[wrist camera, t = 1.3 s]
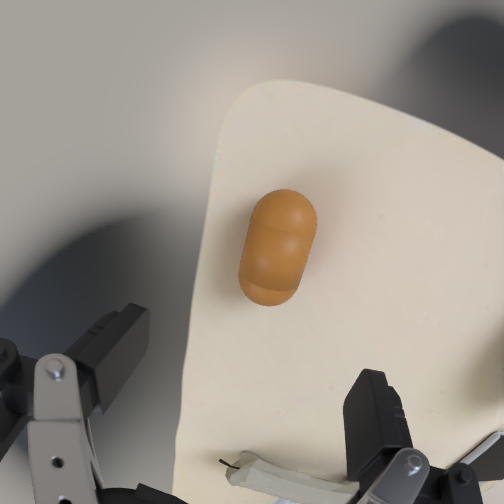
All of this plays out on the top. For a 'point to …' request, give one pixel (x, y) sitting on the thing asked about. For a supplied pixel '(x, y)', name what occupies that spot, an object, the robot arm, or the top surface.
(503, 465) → the smartphone
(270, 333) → the top surface
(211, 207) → the top surface
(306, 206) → the bread roll
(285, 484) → the faceted club
